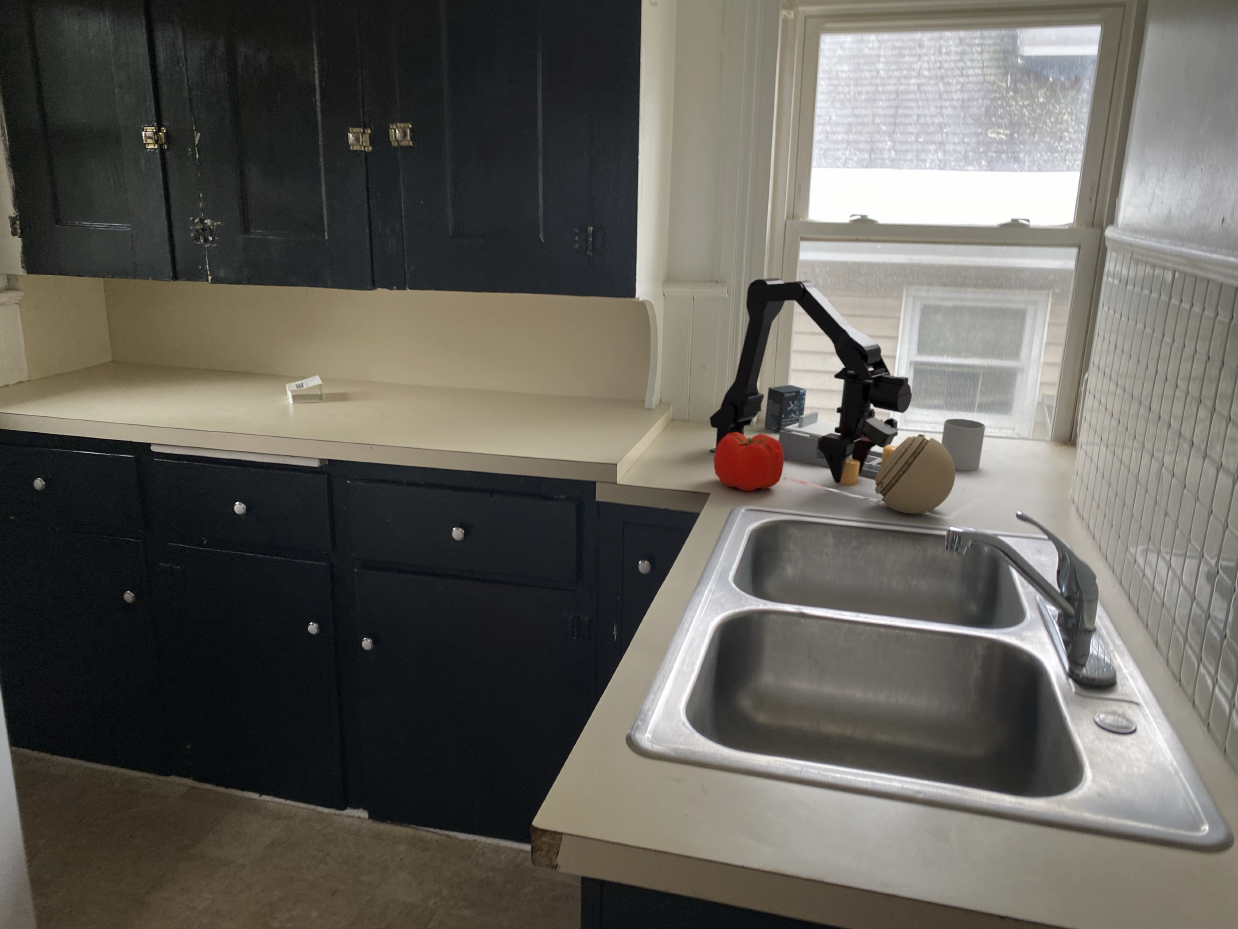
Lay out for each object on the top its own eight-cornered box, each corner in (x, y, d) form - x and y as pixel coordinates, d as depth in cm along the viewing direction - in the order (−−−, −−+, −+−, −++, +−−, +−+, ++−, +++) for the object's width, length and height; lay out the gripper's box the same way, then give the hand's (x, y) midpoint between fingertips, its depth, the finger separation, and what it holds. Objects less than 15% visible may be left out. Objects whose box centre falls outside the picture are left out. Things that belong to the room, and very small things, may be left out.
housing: (888, 484, 197) (892, 455, 196) (777, 457, 213) (779, 430, 211) (917, 469, 209) (921, 442, 207) (809, 445, 224) (812, 419, 222)
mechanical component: (916, 496, 191) (926, 423, 186) (966, 521, 177) (978, 443, 173) (852, 502, 186) (860, 427, 181) (898, 528, 172) (909, 448, 168)
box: (779, 434, 233) (783, 391, 230) (763, 428, 238) (767, 387, 235) (803, 430, 238) (807, 388, 234) (787, 425, 242) (791, 384, 239)
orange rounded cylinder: (851, 489, 193) (854, 465, 192) (833, 484, 196) (836, 461, 194) (860, 484, 196) (863, 461, 195) (842, 480, 199) (845, 457, 197)
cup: (980, 465, 213) (986, 422, 211) (976, 475, 206) (983, 430, 203) (940, 459, 217) (946, 416, 214) (936, 469, 210) (942, 424, 207)
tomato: (705, 490, 189) (708, 439, 186) (723, 473, 201) (726, 424, 198) (773, 501, 184) (777, 448, 181) (787, 482, 196) (792, 432, 193)
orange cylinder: (894, 474, 202) (897, 451, 201) (877, 470, 204) (880, 448, 203) (902, 470, 205) (905, 448, 204) (885, 466, 207) (888, 444, 206)
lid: (832, 440, 205) (833, 426, 204) (784, 430, 212) (785, 416, 211) (858, 430, 214) (859, 417, 213) (811, 420, 221) (813, 407, 220)
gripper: (873, 418, 179) (864, 497, 184) (913, 403, 193) (903, 476, 198) (820, 408, 186) (812, 484, 191) (862, 394, 200) (854, 465, 205)
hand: (847, 477), depth 196 cm, fingers open, 9 cm apart
